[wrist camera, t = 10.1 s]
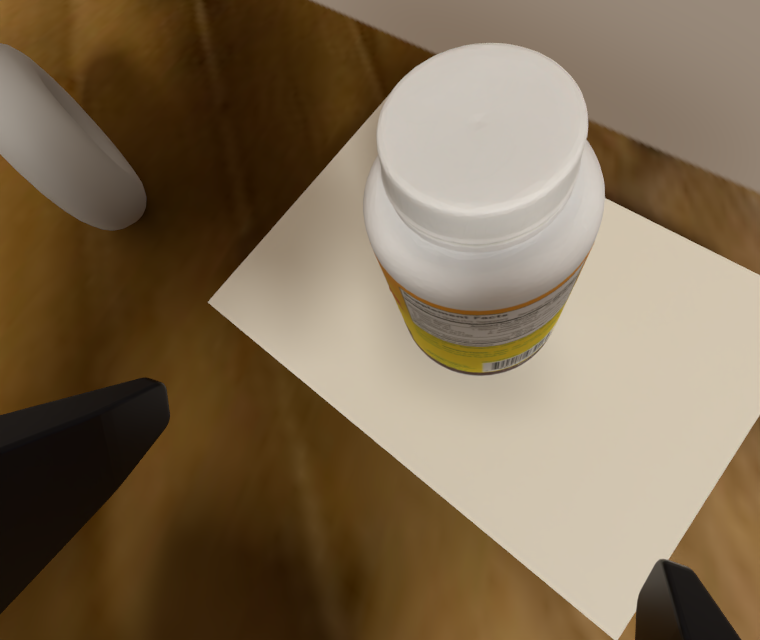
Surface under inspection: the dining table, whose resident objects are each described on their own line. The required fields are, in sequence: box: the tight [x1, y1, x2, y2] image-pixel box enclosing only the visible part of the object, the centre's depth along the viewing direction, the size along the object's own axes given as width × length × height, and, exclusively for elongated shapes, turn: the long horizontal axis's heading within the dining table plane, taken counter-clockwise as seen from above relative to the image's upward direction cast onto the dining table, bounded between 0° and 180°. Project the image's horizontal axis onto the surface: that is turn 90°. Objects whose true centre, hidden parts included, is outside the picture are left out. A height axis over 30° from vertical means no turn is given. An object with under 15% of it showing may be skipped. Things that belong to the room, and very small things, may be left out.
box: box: [208, 95, 760, 640], centre depth 21 cm, size 13×19×4 cm
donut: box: [0, 43, 147, 231], centre depth 25 cm, size 10×4×10 cm, turn 38°
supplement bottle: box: [363, 43, 605, 376], centre depth 14 cm, size 6×6×10 cm
